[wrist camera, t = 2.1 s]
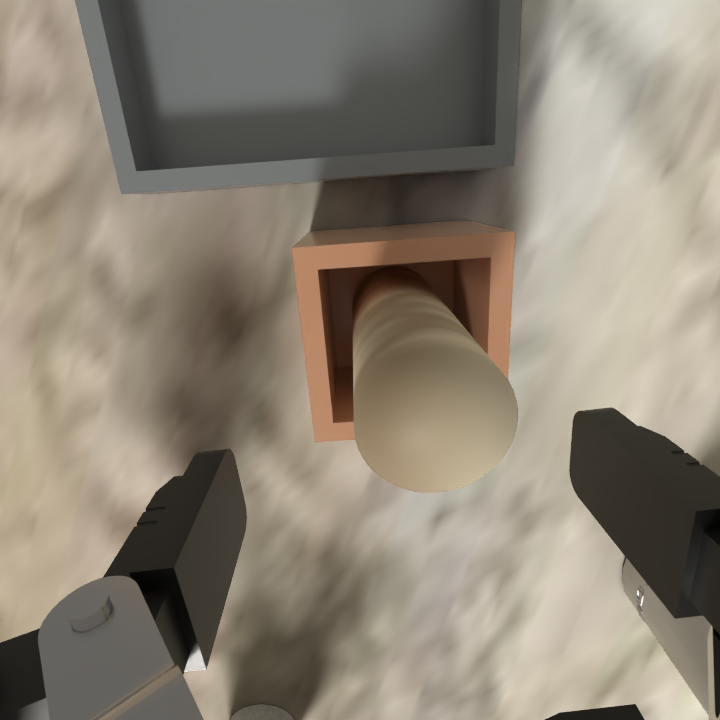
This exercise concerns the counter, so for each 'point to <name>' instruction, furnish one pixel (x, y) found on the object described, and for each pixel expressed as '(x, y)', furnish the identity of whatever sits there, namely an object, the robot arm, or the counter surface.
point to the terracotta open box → (405, 249)
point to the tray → (302, 89)
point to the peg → (424, 388)
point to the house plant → (261, 713)
